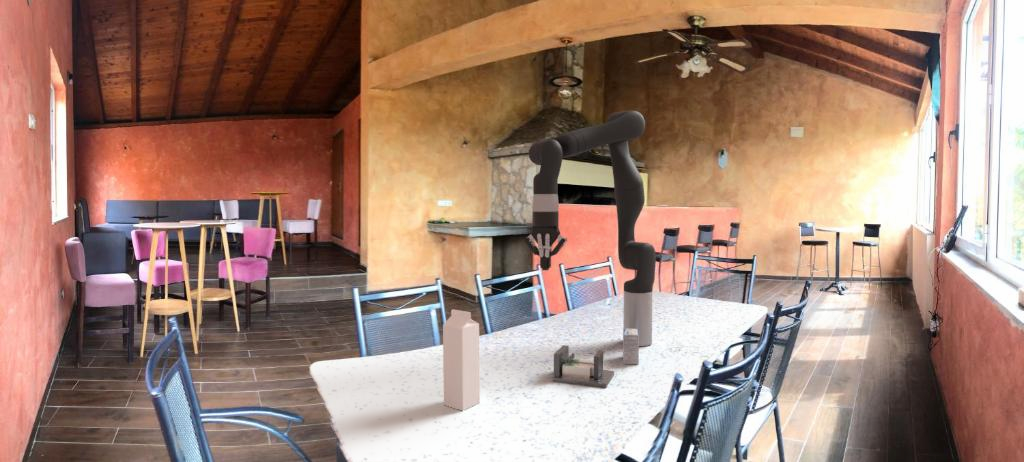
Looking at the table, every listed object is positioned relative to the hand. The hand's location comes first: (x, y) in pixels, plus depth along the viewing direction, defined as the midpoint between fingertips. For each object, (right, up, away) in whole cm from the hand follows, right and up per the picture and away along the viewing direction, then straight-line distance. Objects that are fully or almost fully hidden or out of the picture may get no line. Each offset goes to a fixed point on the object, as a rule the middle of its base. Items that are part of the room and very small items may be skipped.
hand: (545, 269), depth 155 cm
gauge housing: (+9, -28, -13) cm, 32 cm away
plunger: (+9, -26, -13) cm, 31 cm away
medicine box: (+25, -27, +2) cm, 37 cm away
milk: (-21, -29, -31) cm, 47 cm away
